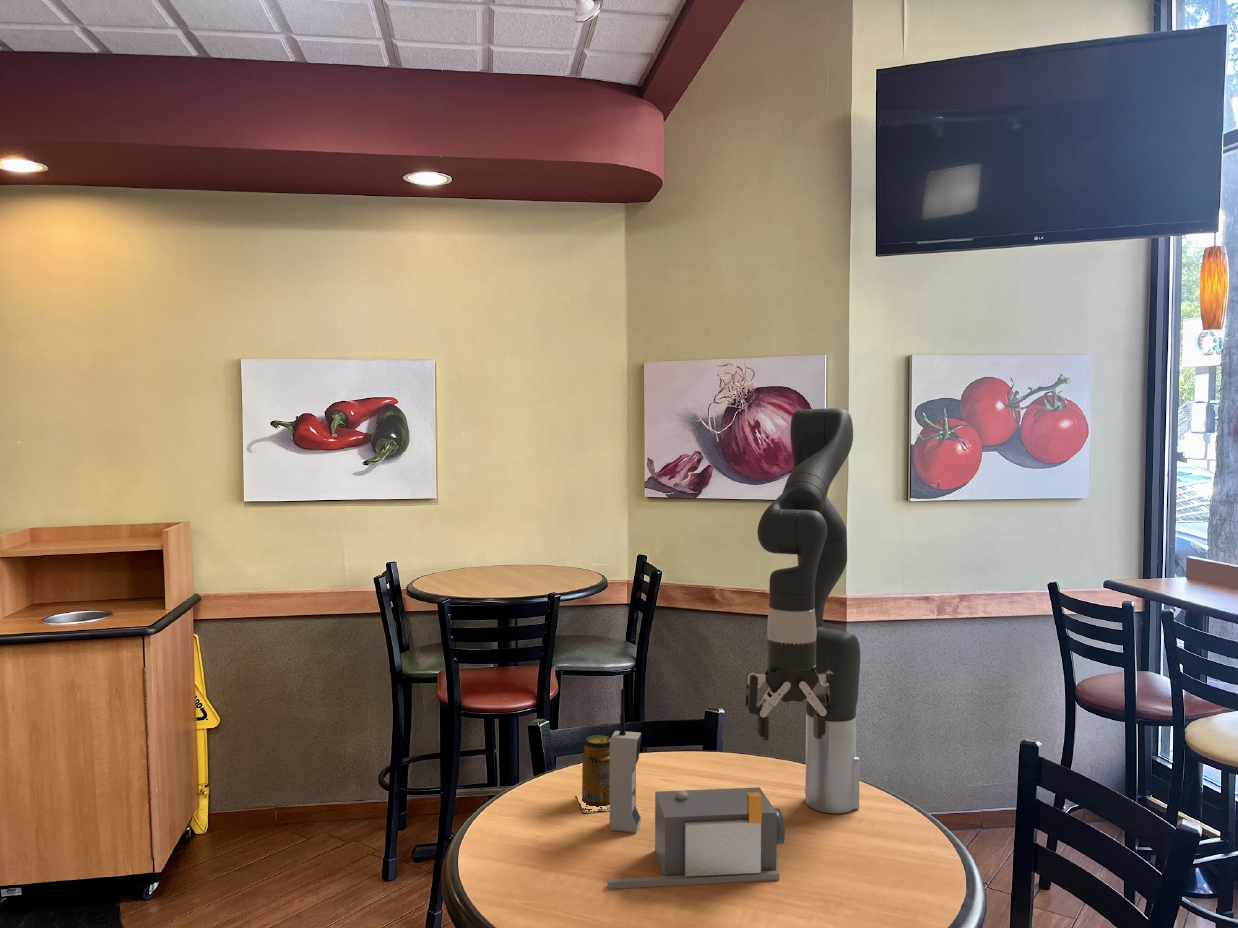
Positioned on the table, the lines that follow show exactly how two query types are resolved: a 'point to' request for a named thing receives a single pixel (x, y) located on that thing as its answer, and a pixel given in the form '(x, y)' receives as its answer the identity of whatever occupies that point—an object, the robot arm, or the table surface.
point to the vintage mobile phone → (624, 777)
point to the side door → (725, 844)
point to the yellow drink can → (596, 772)
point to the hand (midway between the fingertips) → (791, 738)
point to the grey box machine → (705, 808)
